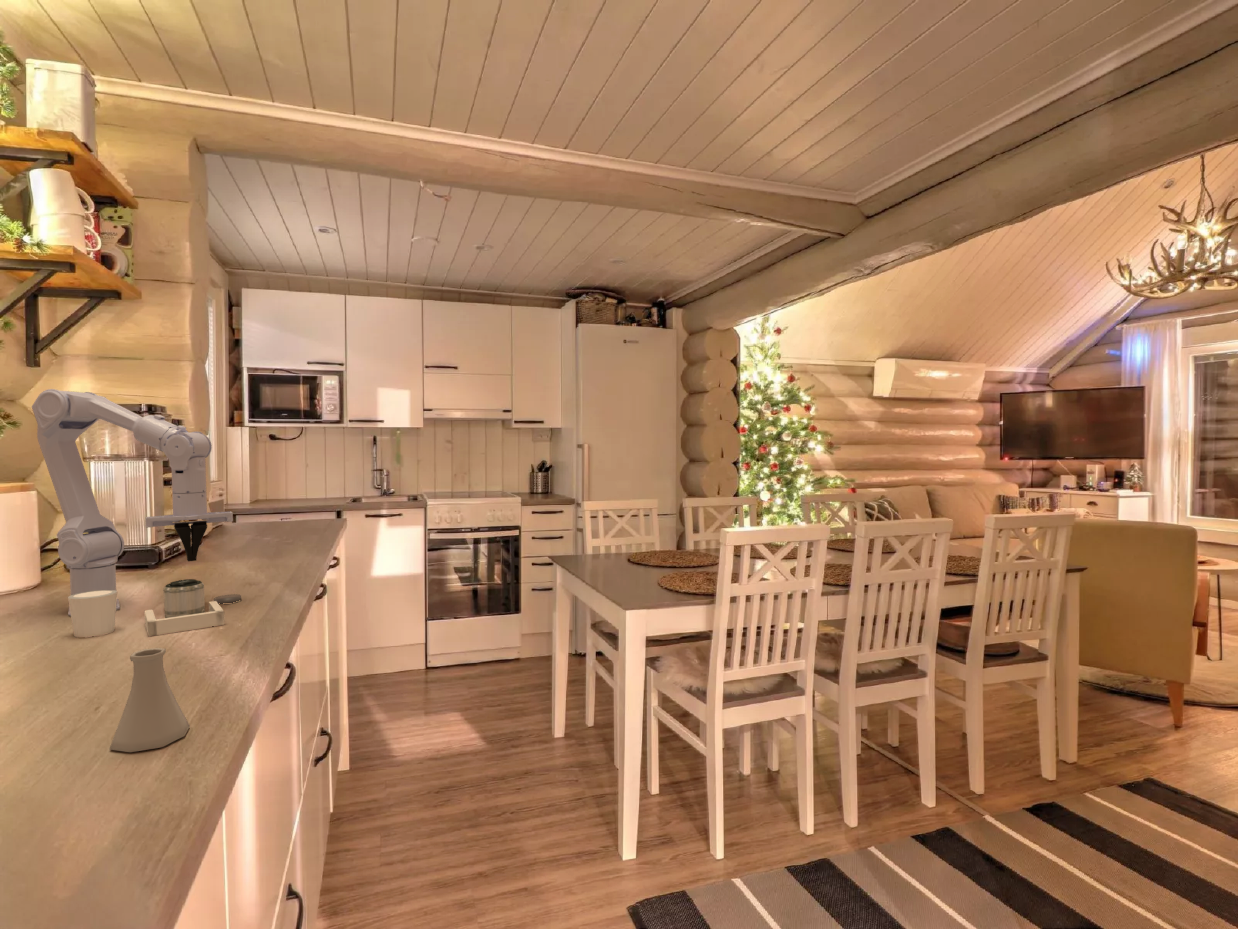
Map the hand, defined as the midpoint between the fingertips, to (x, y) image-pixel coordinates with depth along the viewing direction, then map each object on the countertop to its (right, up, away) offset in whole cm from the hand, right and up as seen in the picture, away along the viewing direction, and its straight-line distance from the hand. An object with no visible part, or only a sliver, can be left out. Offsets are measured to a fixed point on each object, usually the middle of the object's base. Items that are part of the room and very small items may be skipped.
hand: (191, 560), depth 133 cm
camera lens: (+5, -11, -10) cm, 15 cm away
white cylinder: (-7, -11, -15) cm, 20 cm away
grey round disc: (+3, -10, +7) cm, 13 cm away
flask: (+32, -12, -58) cm, 67 cm away
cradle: (+5, -10, -10) cm, 15 cm away
